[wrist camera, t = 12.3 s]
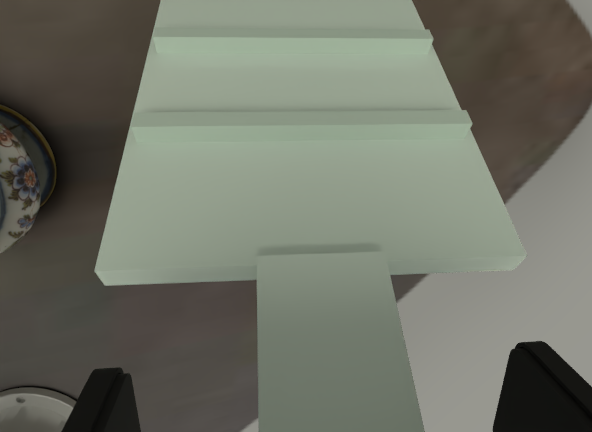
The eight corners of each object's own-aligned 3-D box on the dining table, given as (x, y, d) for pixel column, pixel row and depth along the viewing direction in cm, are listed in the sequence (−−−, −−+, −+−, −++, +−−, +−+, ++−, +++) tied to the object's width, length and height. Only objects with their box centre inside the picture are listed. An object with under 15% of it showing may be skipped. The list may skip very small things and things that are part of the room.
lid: (596, 467, 11) (644, 460, 10) (55, 509, 10) (17, 508, 9) (402, 7, 25) (411, -24, 24) (167, 4, 24) (161, -29, 23)
